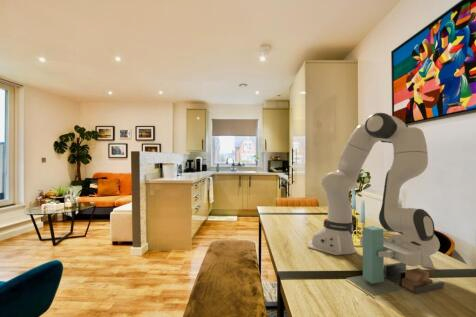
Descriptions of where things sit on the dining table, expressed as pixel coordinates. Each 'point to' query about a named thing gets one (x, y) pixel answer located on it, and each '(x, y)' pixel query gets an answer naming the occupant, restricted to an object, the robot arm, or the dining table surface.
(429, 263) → the spoon rest
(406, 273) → the upper walnut offcut
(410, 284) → the lower walnut offcut
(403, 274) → the rack
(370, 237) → the teal rectangular block
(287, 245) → the dining table surface
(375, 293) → the rubber mat
